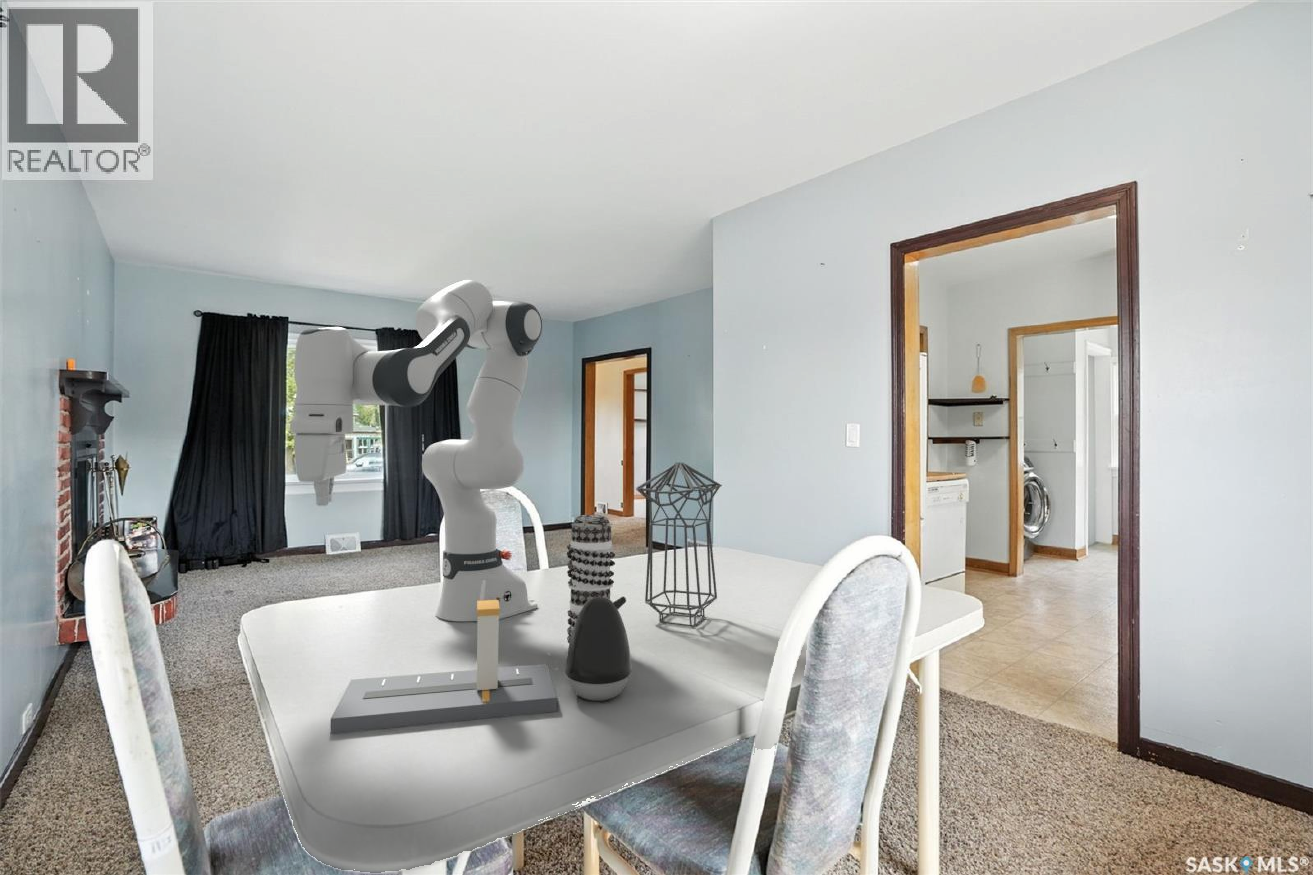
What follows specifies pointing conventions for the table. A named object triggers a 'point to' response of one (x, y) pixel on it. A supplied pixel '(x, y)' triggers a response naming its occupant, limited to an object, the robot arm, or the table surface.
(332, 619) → the table surface
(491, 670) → the fader tab
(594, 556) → the decorative candle
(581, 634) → the pump dispenser
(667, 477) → the geometric lantern
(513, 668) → the console board
